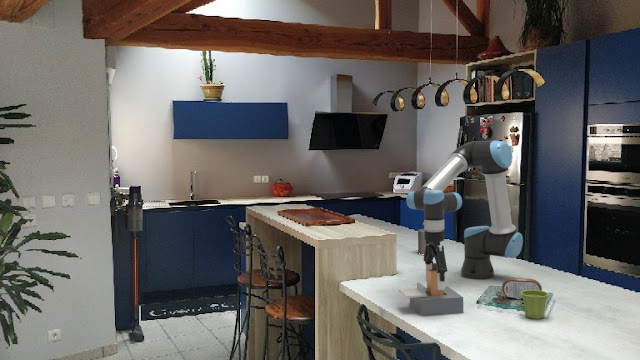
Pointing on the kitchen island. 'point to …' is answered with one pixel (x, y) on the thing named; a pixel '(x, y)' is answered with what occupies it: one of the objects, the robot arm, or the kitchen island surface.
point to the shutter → (414, 291)
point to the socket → (439, 303)
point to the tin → (519, 286)
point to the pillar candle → (421, 241)
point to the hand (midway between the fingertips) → (435, 284)
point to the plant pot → (534, 303)
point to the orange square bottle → (433, 282)
